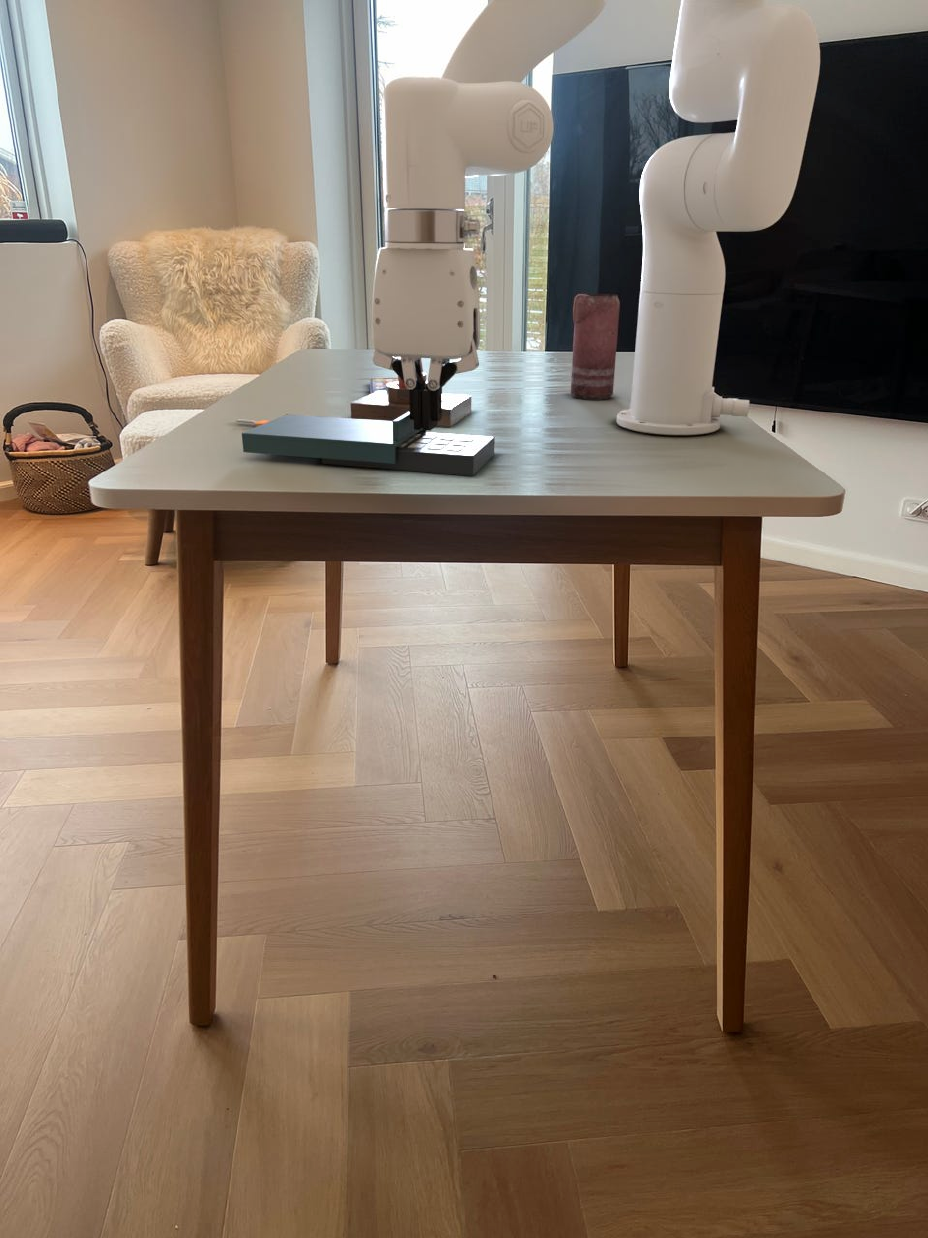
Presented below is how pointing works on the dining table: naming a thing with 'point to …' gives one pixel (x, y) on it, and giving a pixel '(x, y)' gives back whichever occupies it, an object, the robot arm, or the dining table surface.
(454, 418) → the block
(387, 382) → the smartphone
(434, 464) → the calculator
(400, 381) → the timer button
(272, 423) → the cover
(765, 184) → the robot arm
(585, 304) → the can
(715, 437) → the dining table surface
